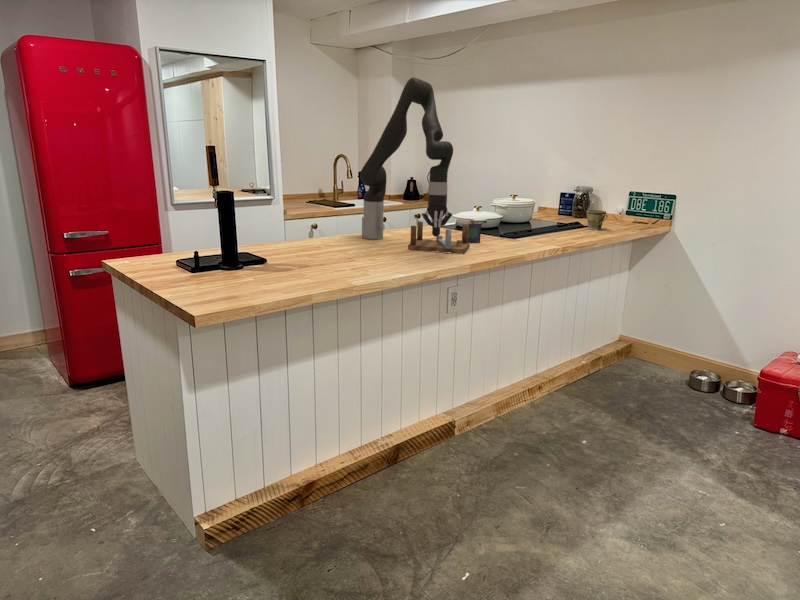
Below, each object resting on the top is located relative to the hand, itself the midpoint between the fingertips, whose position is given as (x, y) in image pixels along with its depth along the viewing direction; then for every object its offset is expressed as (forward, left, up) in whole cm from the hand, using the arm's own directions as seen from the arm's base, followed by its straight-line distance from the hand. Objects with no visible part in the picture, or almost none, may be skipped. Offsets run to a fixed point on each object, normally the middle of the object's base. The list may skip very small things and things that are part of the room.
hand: (435, 236), depth 229 cm
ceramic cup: (+69, +94, -8) cm, 117 cm away
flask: (+10, +32, -8) cm, 34 cm away
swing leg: (+1, +10, -5) cm, 12 cm away
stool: (-1, +13, -8) cm, 15 cm away
